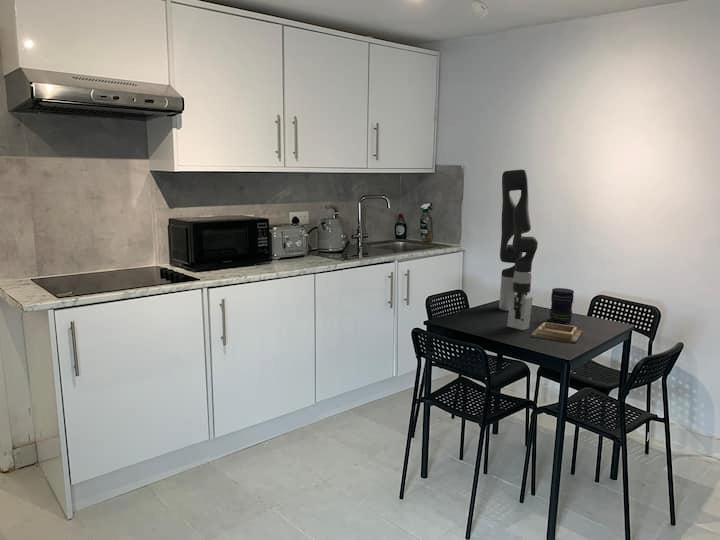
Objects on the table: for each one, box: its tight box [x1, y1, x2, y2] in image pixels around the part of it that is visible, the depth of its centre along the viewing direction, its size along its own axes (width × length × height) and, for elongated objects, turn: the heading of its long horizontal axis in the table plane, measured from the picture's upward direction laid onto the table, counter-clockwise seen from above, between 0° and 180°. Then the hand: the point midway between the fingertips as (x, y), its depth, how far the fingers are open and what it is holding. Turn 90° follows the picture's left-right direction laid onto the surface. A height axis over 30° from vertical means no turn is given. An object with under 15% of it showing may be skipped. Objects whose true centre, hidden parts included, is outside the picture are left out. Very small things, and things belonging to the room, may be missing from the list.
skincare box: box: [506, 294, 533, 331], centre depth 249 cm, size 8×6×15 cm
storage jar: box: [549, 287, 575, 324], centre depth 262 cm, size 10×10×15 cm
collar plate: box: [530, 321, 583, 344], centre depth 240 cm, size 18×18×3 cm
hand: (519, 317), depth 249 cm, fingers closed on skincare box, 7 cm apart
